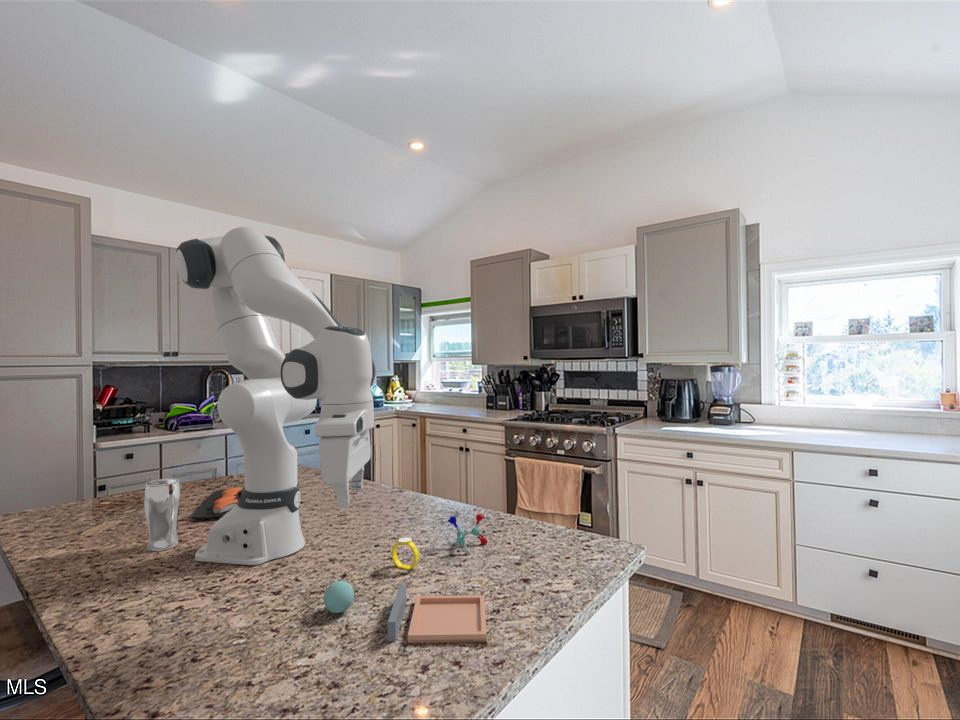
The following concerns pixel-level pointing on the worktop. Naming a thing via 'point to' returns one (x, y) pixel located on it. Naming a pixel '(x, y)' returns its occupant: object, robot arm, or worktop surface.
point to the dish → (448, 619)
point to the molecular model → (462, 534)
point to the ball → (338, 597)
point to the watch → (416, 553)
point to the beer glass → (162, 513)
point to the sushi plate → (217, 504)
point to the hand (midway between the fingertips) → (350, 498)
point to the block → (396, 613)
